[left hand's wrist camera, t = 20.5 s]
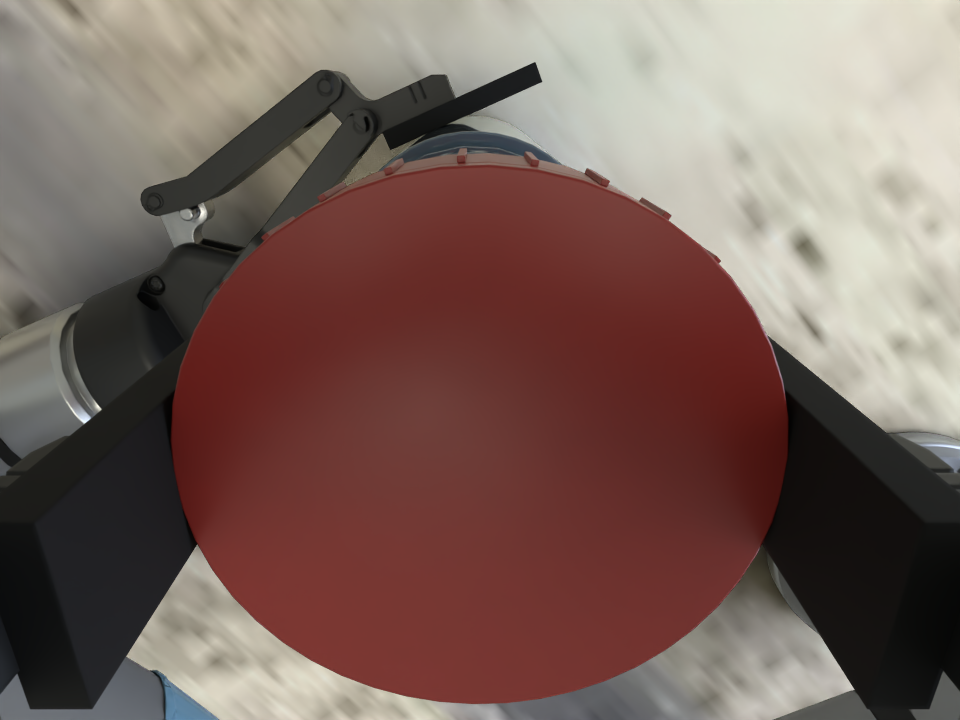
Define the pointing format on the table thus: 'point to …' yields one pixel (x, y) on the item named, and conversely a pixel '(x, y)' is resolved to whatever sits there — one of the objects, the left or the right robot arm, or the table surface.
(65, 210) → the table surface
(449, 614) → the lid
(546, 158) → the jar
